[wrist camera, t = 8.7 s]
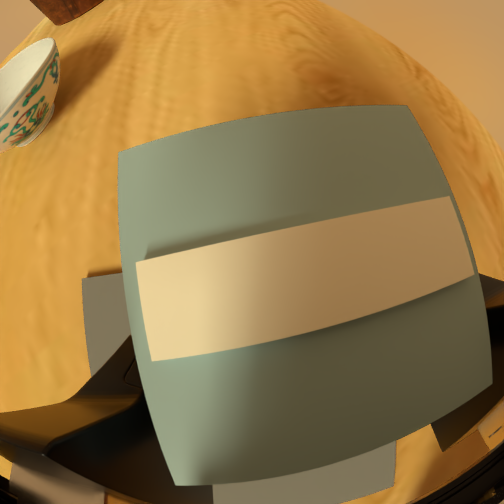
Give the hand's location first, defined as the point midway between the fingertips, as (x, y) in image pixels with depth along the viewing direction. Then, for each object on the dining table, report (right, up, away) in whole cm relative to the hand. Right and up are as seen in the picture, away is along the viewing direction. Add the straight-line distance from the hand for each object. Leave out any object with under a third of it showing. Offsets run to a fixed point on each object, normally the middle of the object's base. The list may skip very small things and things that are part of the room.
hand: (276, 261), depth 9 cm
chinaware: (-26, +15, +13) cm, 33 cm away
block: (+1, -3, +6) cm, 7 cm away
